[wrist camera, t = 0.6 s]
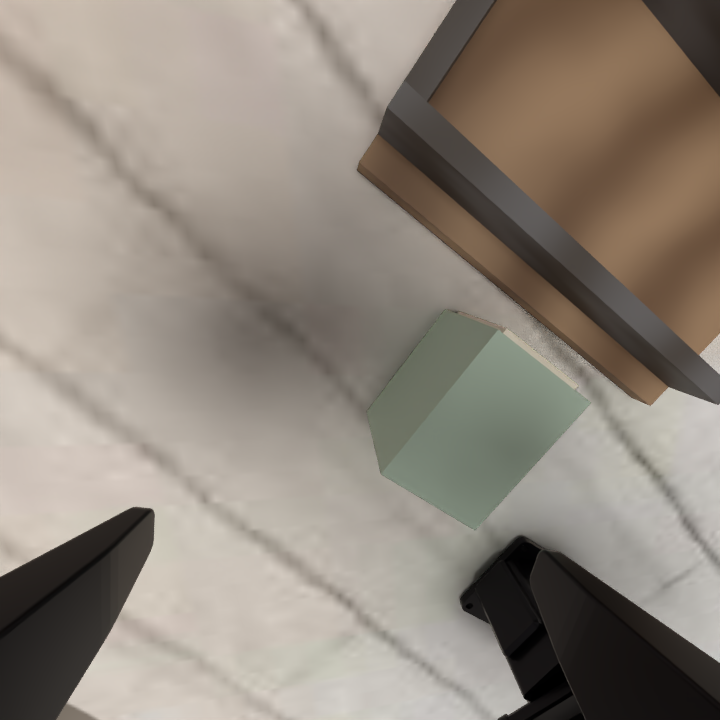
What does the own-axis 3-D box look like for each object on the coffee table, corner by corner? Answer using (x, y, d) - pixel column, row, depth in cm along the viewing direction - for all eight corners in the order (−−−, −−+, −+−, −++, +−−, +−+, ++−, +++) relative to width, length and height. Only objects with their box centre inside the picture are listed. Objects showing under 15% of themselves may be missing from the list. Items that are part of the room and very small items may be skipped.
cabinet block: (515, 356, 19) (596, 397, 13) (434, 454, 20) (474, 530, 14) (448, 304, 18) (503, 322, 12) (366, 411, 19) (380, 474, 13)
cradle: (827, 188, 18) (953, 169, 14) (632, 397, 20) (696, 426, 16) (566, -150, 13) (653, -302, 10) (357, 170, 16) (364, 142, 12)
